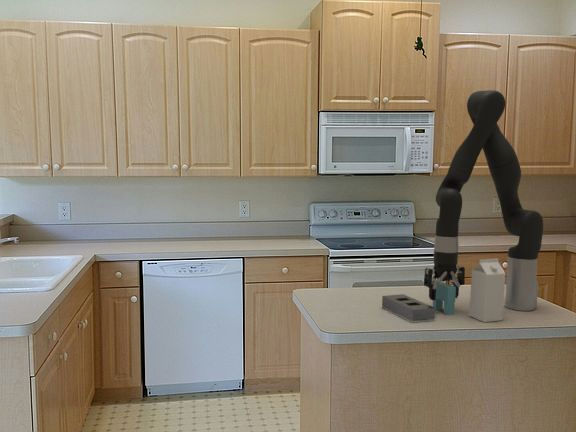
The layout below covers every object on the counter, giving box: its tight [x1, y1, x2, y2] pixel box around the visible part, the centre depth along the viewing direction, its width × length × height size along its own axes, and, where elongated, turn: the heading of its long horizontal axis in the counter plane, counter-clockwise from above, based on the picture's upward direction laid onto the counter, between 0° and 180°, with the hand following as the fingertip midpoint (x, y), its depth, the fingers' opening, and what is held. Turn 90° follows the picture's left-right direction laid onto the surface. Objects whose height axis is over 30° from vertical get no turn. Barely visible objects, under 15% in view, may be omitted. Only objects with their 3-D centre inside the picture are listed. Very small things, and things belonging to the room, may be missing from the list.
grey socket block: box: [381, 293, 436, 324], centre depth 183 cm, size 18×8×4 cm, turn 21°
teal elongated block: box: [432, 281, 456, 316], centre depth 186 cm, size 8×3×9 cm, turn 21°
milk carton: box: [469, 258, 506, 323], centre depth 178 cm, size 7×7×19 cm
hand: (443, 298), depth 186 cm, fingers open, 8 cm apart
